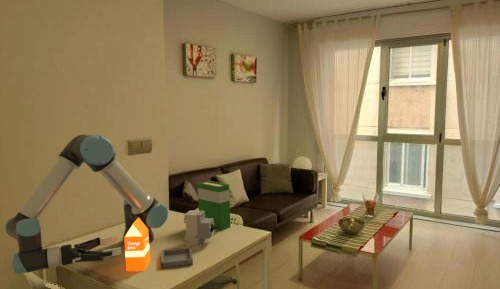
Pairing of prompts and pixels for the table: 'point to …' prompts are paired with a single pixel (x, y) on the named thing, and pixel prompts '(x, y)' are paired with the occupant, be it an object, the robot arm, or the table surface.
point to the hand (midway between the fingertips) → (118, 245)
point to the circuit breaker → (198, 227)
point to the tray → (176, 257)
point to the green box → (215, 203)
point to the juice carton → (137, 247)
